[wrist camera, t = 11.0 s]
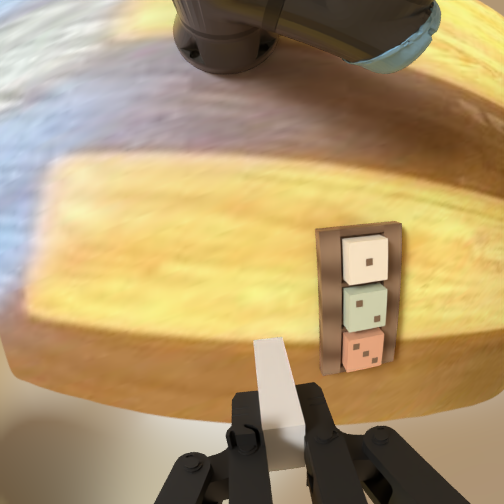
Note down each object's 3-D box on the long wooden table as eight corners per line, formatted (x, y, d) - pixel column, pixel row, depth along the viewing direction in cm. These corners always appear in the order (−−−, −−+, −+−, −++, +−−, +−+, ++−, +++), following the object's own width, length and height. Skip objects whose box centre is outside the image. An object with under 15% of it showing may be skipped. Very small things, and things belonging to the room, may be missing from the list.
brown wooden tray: (315, 229, 45) (319, 231, 42) (395, 221, 45) (401, 223, 43) (319, 368, 50) (322, 375, 48) (388, 354, 51) (393, 360, 48)
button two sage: (343, 288, 45) (349, 295, 42) (379, 282, 45) (387, 289, 42) (343, 323, 47) (349, 332, 44) (377, 317, 47) (385, 325, 44)
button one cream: (341, 238, 44) (348, 243, 41) (379, 234, 44) (388, 238, 41) (342, 278, 45) (349, 285, 42) (379, 273, 45) (387, 279, 42)
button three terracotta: (342, 331, 47) (348, 341, 44) (377, 325, 47) (384, 334, 44) (341, 362, 49) (347, 372, 46) (374, 355, 49) (381, 365, 46)
